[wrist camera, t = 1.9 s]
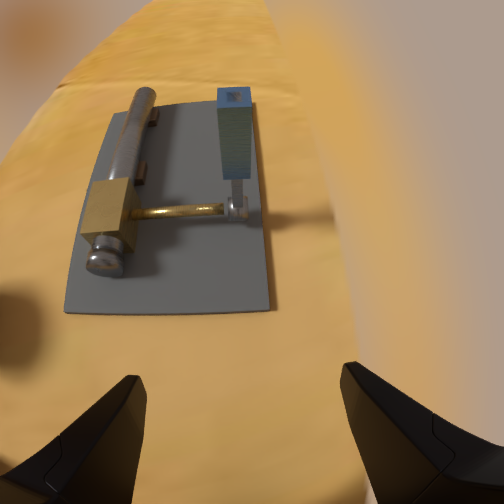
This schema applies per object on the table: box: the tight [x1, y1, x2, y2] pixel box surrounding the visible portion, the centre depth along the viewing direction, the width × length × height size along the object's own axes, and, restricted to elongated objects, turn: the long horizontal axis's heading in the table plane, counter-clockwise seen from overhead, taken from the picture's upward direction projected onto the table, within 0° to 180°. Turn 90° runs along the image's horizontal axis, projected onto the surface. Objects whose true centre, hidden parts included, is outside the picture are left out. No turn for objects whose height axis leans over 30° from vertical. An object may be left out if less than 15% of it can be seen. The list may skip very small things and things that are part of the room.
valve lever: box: [217, 87, 252, 221], centre depth 20 cm, size 2×2×12 cm
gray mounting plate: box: [64, 101, 270, 315], centre depth 28 cm, size 26×18×1 cm
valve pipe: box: [80, 87, 224, 278], centre depth 27 cm, size 23×12×4 cm, turn 3°
